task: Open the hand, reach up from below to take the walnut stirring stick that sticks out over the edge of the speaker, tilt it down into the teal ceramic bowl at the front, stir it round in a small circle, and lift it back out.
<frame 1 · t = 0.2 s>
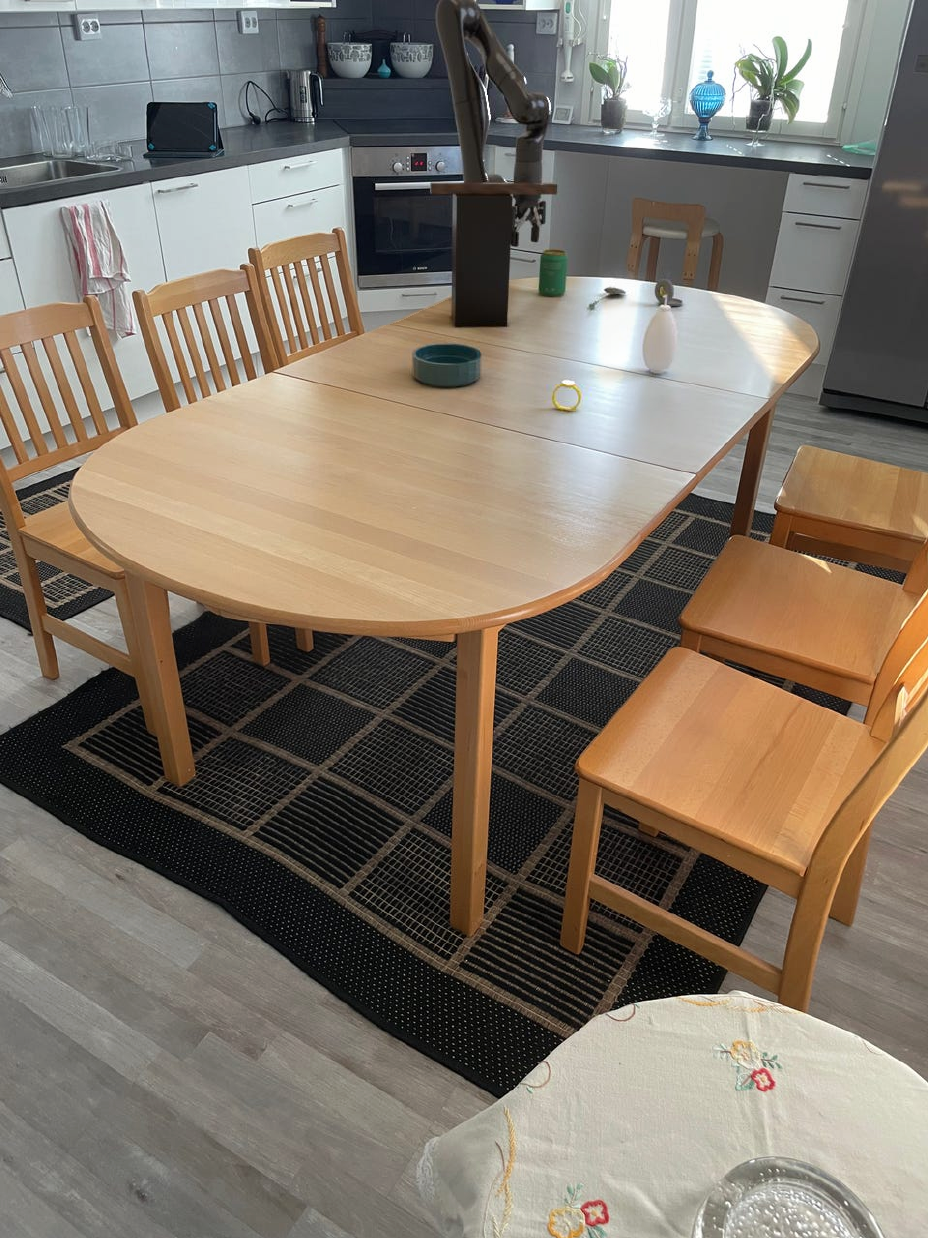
hand: (524, 243, 257), 17 cm above the table, tool pointing down, fingers open, 8 cm apart
gold diamond ring: (565, 410, 199), on the table
pocket watch: (667, 305, 274), on the table
soupspoon: (605, 301, 276), on the table
bowl: (446, 377, 215), on the table
stick: (493, 188, 237), point 33 cm above the table, touching speaker
speaker: (478, 321, 255), on the table
sauce bottle: (656, 373, 221), on the table
beverage can: (551, 294, 282), on the table
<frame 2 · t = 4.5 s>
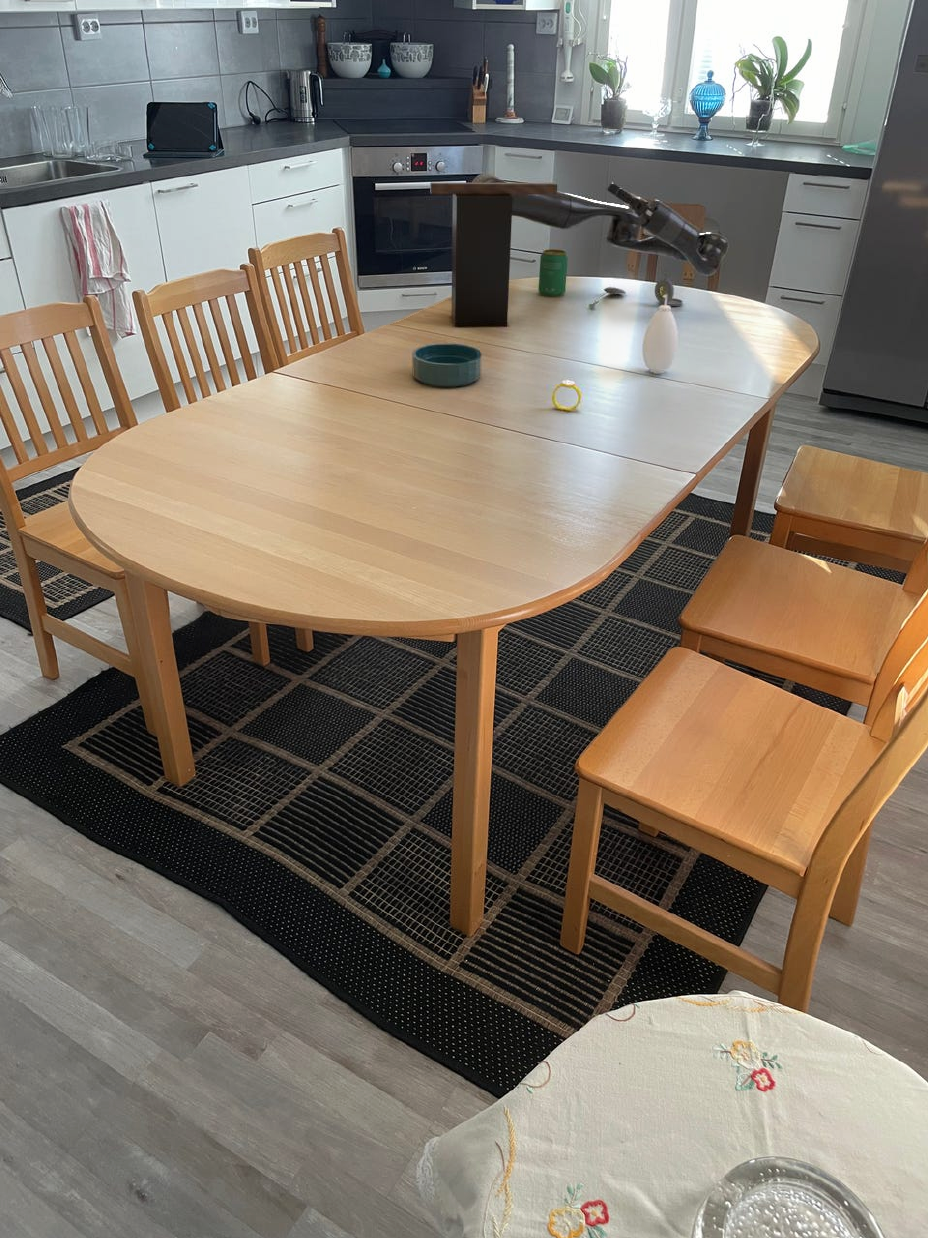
hand: (613, 188, 241), 33 cm above the table, tool pointing upward, fingers open, 8 cm apart
nothing on the table moved.
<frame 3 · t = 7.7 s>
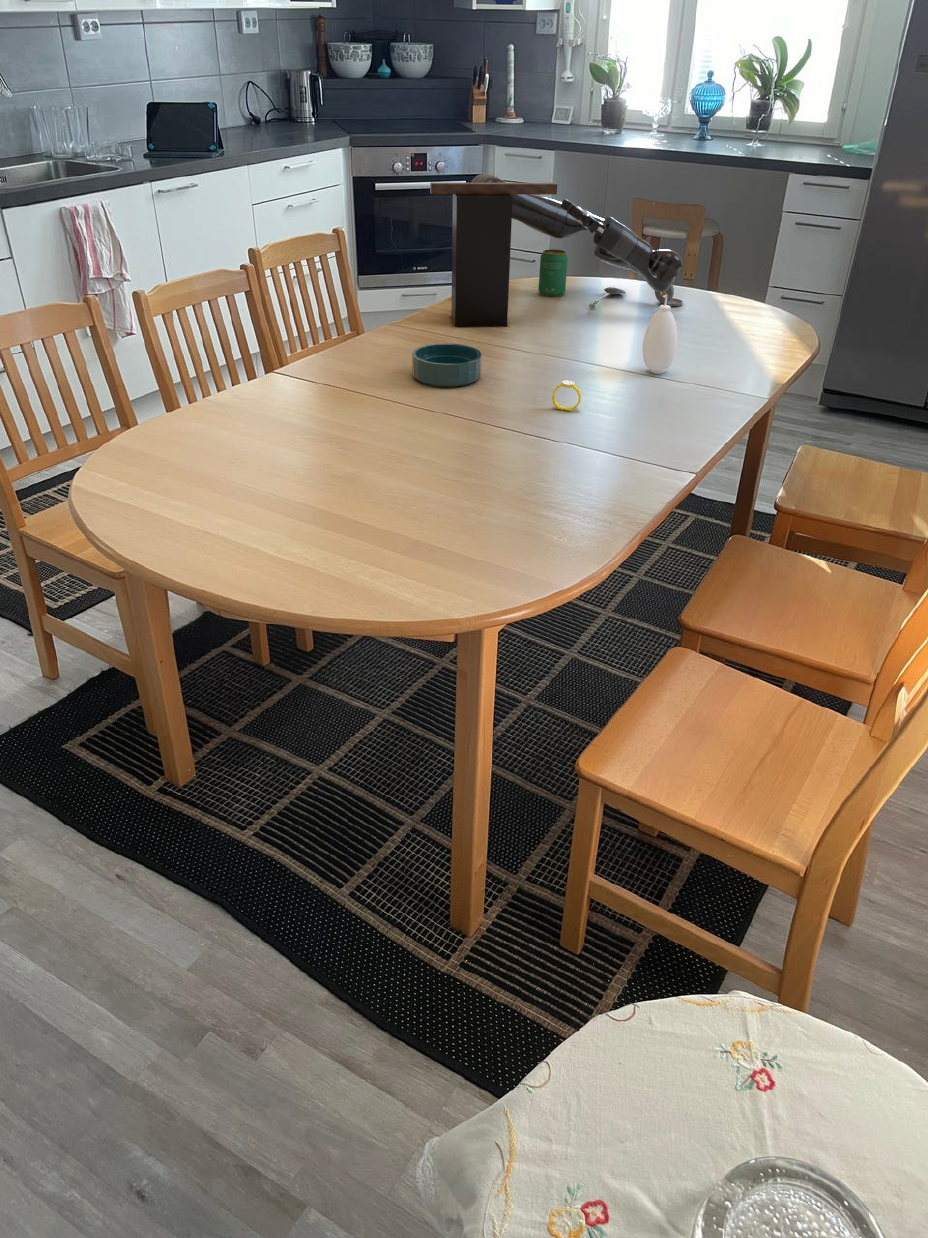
hand: (565, 205, 241), 29 cm above the table, tool pointing upward, fingers open, 8 cm apart
nothing on the table moved.
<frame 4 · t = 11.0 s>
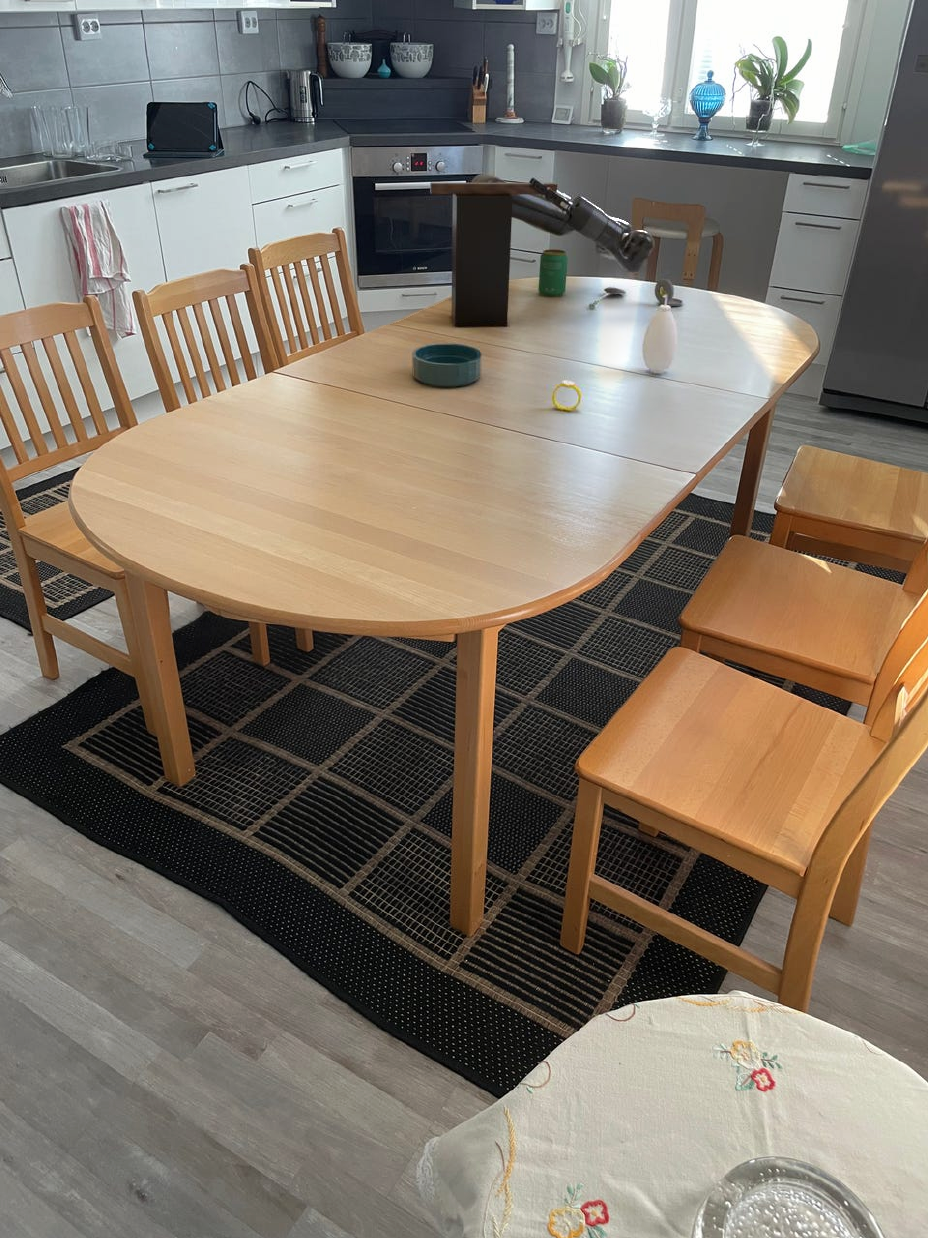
hand: (531, 182, 237), 35 cm above the table, tool pointing upward, fingers closed on stick, 2 cm apart
stick: (493, 188, 237), point 33 cm above the table, touching gripper, speaker
everything else where it was.
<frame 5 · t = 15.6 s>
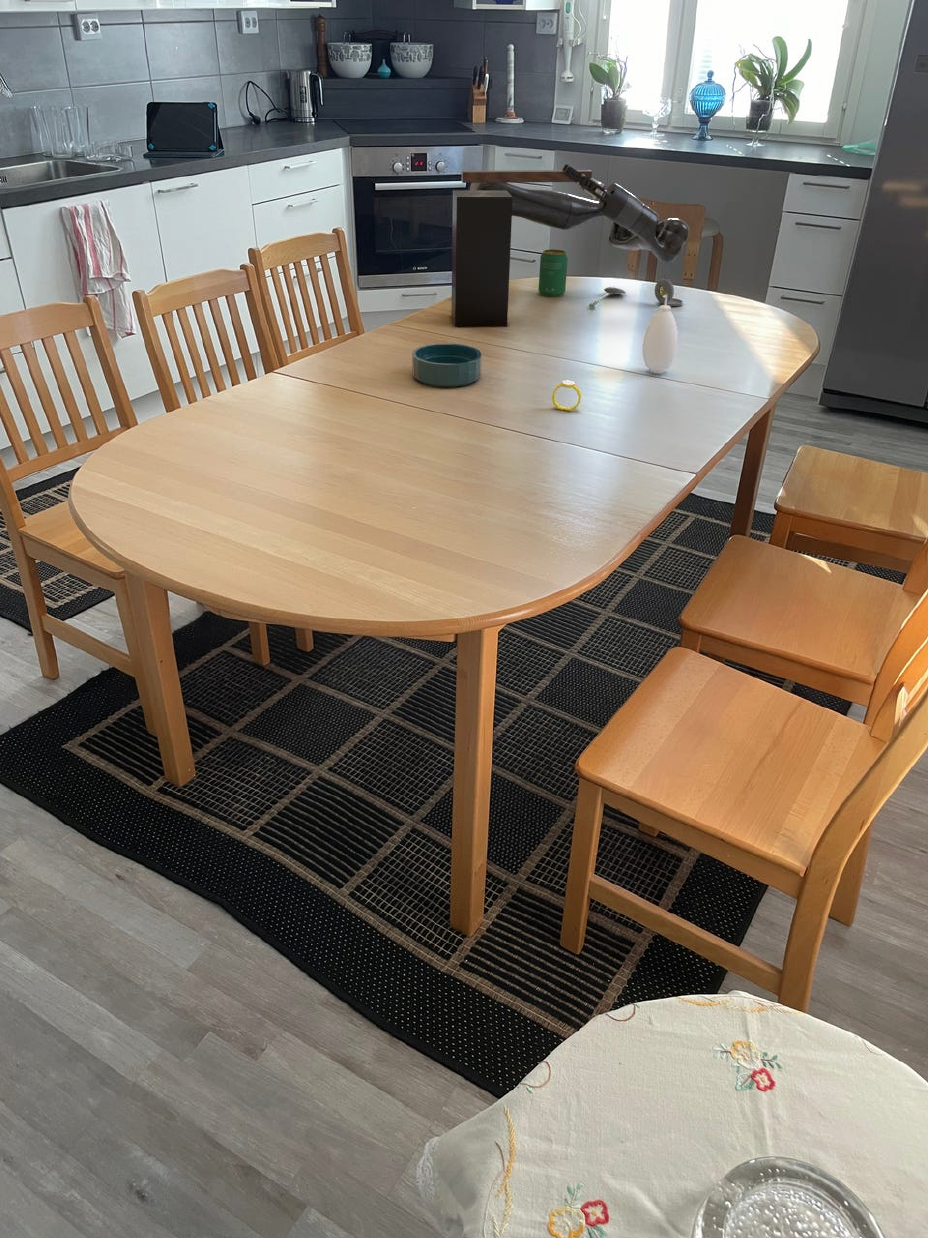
hand: (565, 168, 231), 39 cm above the table, tool pointing upward, fingers closed on stick, 2 cm apart
stick: (526, 176, 231), point 37 cm above the table, touching gripper
everything else where it was.
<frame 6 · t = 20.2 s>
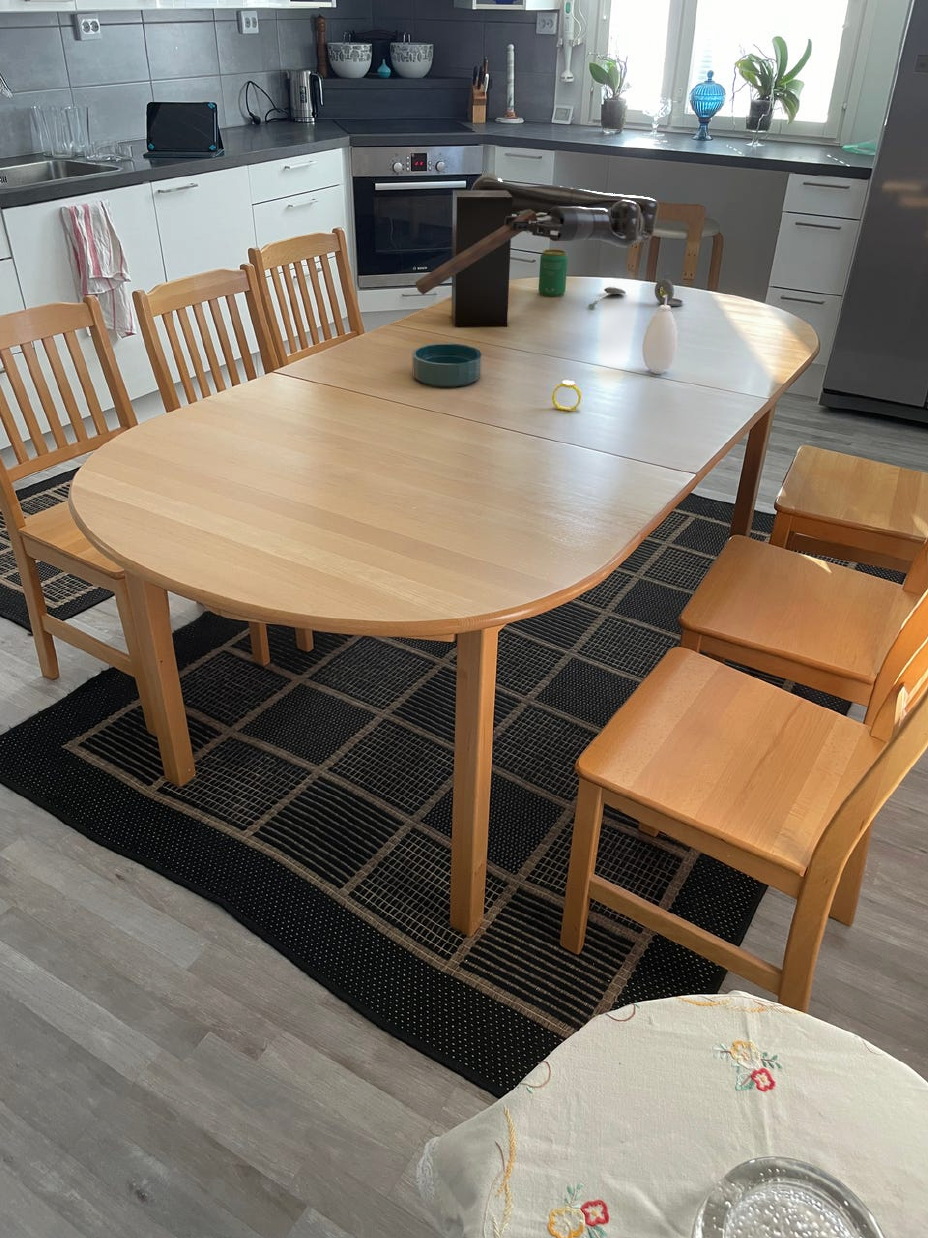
hand: (508, 223, 214), 30 cm above the table, tool horizontal, fingers closed on stick, 2 cm apart
stick: (476, 251, 215), point 25 cm above the table, tilted 27°, touching gripper
everything else where it was.
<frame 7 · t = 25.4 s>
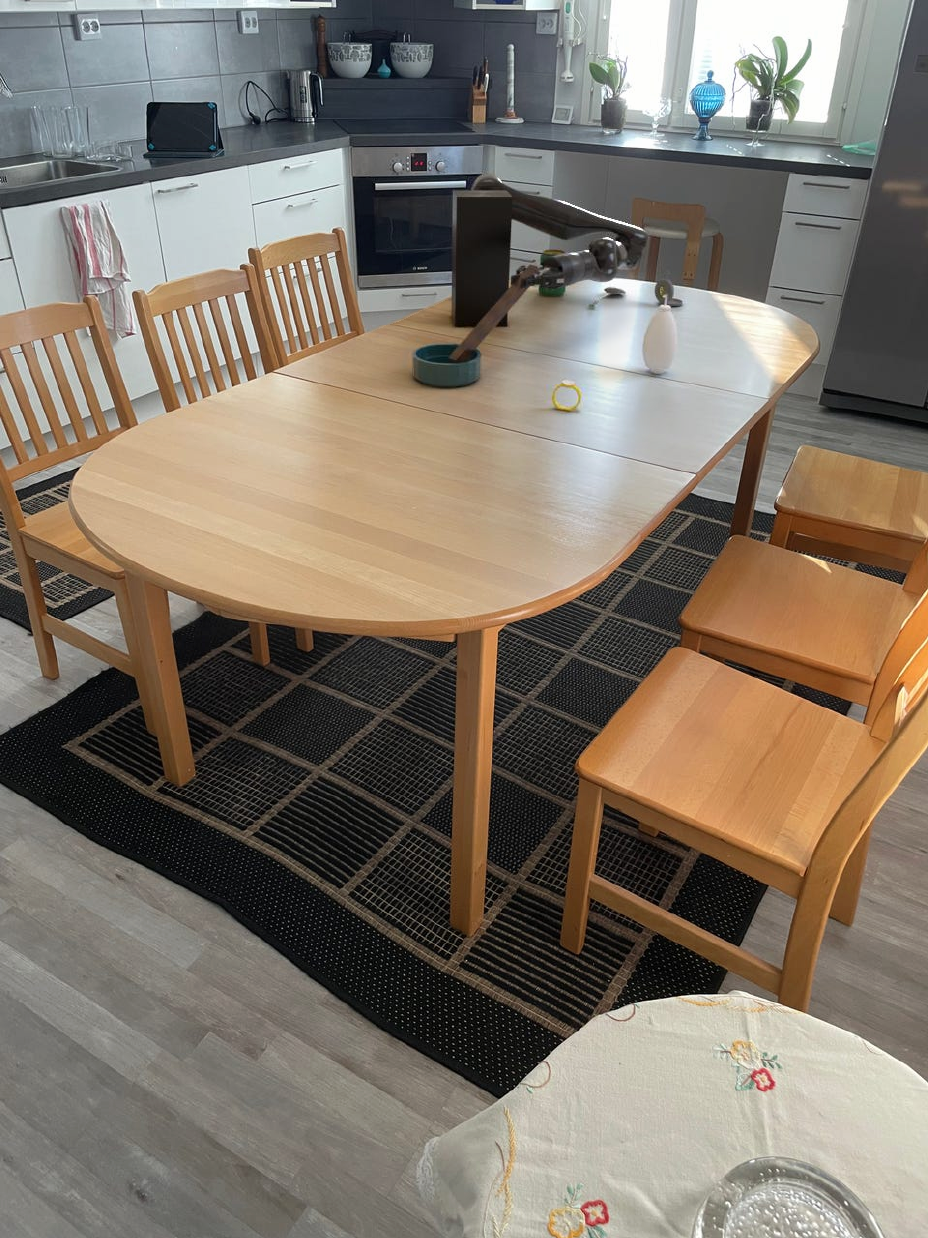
hand: (516, 281, 218), 18 cm above the table, tool horizontal, fingers closed on stick, 2 cm apart
stick: (495, 315, 217), point 12 cm above the table, tilted 31°, touching gripper
everything else where it was.
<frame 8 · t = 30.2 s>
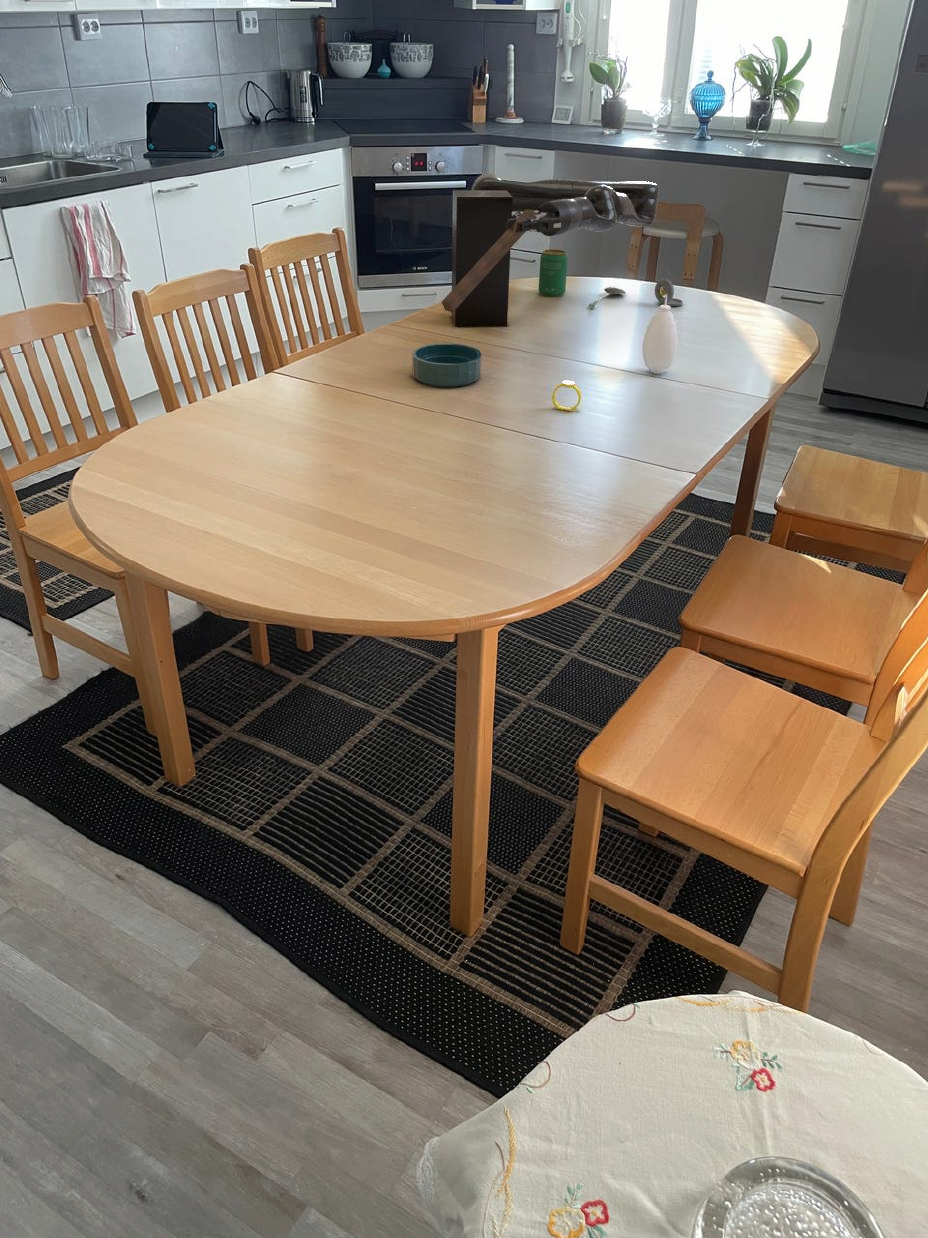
hand: (512, 226, 212), 30 cm above the table, tool horizontal, fingers closed on stick, 2 cm apart
stick: (490, 259, 211), point 24 cm above the table, tilted 30°, touching gripper
everything else where it was.
at the end: the gripper is holding stick; stick inside the target area on the bowl (0.3 cm from its centre), point 23.8 cm above the bowl's base; stick moved 38.2 cm from its start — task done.
